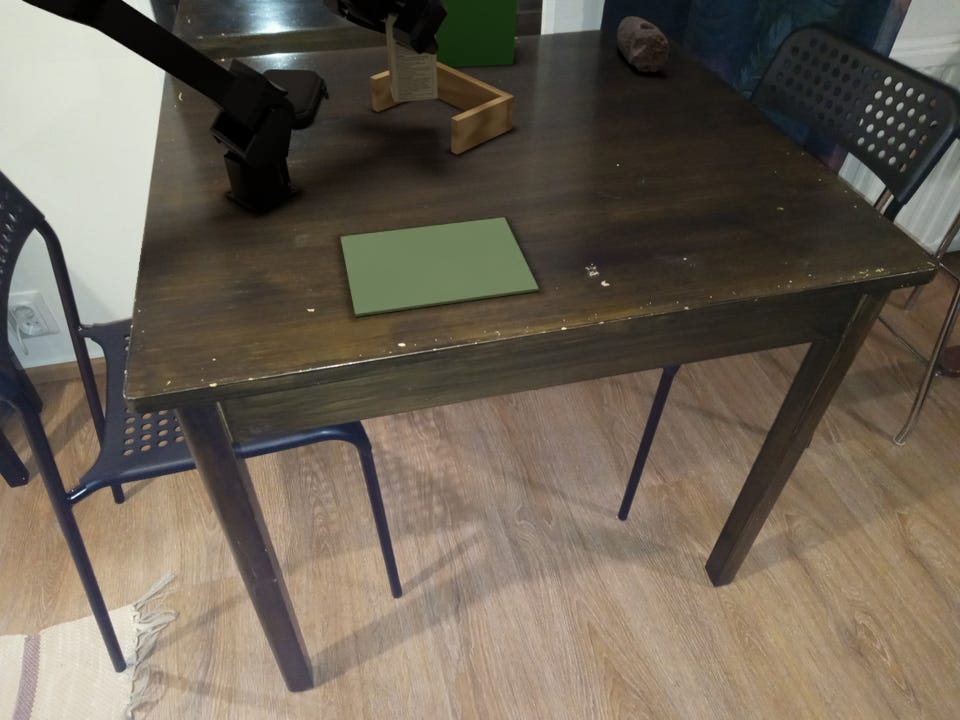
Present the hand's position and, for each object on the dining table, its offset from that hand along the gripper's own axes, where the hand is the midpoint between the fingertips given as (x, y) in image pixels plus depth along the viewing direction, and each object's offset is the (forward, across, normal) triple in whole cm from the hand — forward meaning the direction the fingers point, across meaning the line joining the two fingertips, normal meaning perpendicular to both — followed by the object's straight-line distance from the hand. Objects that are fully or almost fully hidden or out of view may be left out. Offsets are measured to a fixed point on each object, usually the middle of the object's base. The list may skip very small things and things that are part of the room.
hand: (419, 43), depth 92 cm
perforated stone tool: (+40, -5, -23) cm, 46 cm away
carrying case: (+2, +19, +16) cm, 25 cm away
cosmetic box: (+4, 0, +6) cm, 7 cm away
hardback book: (+24, +16, -7) cm, 30 cm away
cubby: (+11, +1, +6) cm, 13 cm away
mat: (-5, -25, +22) cm, 34 cm away
